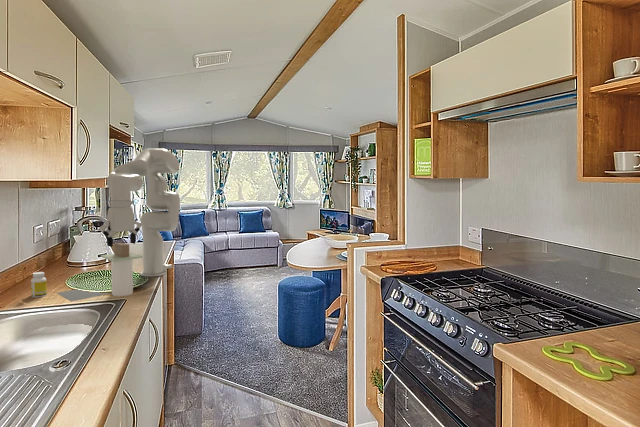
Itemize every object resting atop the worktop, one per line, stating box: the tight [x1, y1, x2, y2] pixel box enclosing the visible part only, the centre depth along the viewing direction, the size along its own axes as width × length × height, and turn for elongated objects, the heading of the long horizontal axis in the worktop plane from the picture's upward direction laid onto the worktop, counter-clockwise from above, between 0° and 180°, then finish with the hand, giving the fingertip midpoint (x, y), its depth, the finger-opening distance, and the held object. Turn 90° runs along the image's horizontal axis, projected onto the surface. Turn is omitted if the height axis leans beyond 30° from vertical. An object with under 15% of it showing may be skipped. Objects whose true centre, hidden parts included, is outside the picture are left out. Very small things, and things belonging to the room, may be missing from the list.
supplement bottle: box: [30, 271, 48, 298], centre depth 181 cm, size 5×5×10 cm
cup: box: [110, 259, 134, 297], centre depth 188 cm, size 8×8×16 cm
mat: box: [56, 288, 112, 302], centre depth 187 cm, size 16×16×1 cm
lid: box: [100, 242, 143, 262], centre depth 186 cm, size 12×12×6 cm
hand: (121, 244), depth 186 cm, fingers open, 9 cm apart
